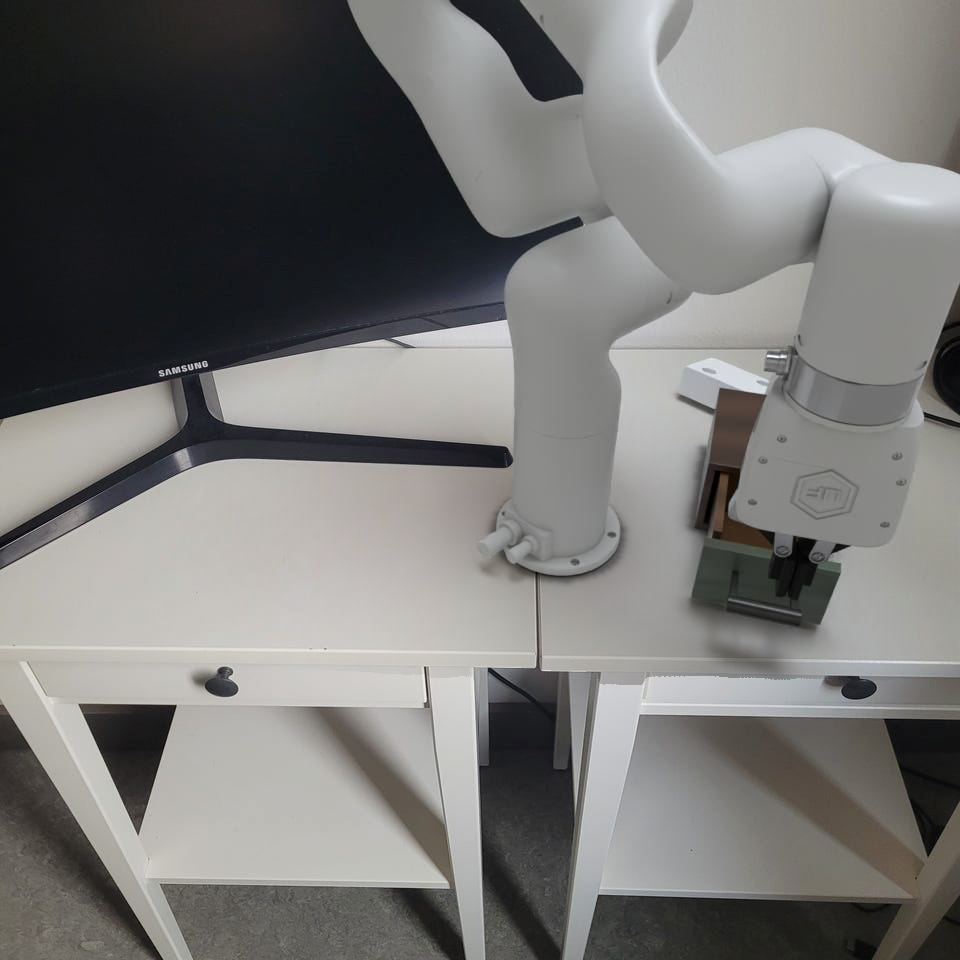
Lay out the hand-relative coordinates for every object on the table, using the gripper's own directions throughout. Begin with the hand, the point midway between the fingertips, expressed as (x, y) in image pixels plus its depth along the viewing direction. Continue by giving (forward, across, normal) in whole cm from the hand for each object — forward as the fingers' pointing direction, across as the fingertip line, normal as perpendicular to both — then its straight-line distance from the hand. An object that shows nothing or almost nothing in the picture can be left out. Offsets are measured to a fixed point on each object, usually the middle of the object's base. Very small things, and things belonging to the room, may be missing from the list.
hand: (786, 585), depth 62 cm
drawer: (+11, -1, +11) cm, 16 cm away
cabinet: (+12, -1, +25) cm, 28 cm away
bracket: (+12, -4, +42) cm, 44 cm away
